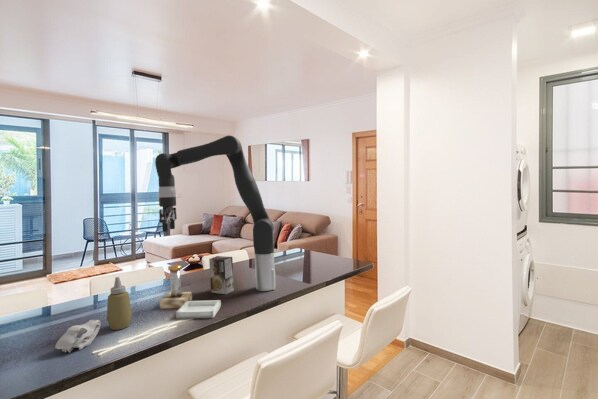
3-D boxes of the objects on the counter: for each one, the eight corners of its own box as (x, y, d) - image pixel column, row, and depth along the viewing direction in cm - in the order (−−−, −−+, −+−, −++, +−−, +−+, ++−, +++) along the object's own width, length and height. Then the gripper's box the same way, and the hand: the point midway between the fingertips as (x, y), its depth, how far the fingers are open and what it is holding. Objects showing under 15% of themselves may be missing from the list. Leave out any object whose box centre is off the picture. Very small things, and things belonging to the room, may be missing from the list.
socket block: (192, 299, 145) (191, 291, 145) (184, 307, 135) (183, 299, 135) (169, 300, 145) (169, 292, 145) (159, 308, 135) (159, 300, 135)
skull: (47, 345, 101) (76, 308, 108) (71, 357, 106) (98, 321, 113) (59, 349, 96) (88, 311, 104) (83, 362, 101) (110, 324, 109)
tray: (221, 306, 136) (220, 300, 136) (213, 317, 124) (213, 311, 124) (187, 306, 136) (187, 301, 136) (176, 318, 124) (176, 312, 124)
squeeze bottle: (137, 323, 121) (135, 275, 120) (119, 333, 113) (116, 281, 112) (120, 321, 124) (118, 273, 123) (101, 330, 116) (98, 279, 115)
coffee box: (234, 290, 156) (233, 256, 155) (226, 294, 150) (224, 259, 150) (218, 288, 160) (217, 255, 159) (210, 292, 154) (208, 258, 153)
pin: (184, 301, 143) (183, 264, 142) (180, 305, 138) (178, 267, 137) (172, 301, 143) (171, 264, 142) (167, 306, 138) (166, 267, 137)
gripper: (169, 196, 149) (171, 232, 150) (180, 195, 163) (182, 228, 164) (152, 197, 149) (154, 232, 150) (165, 195, 163) (167, 228, 164)
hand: (169, 230), depth 157 cm, fingers open, 8 cm apart
